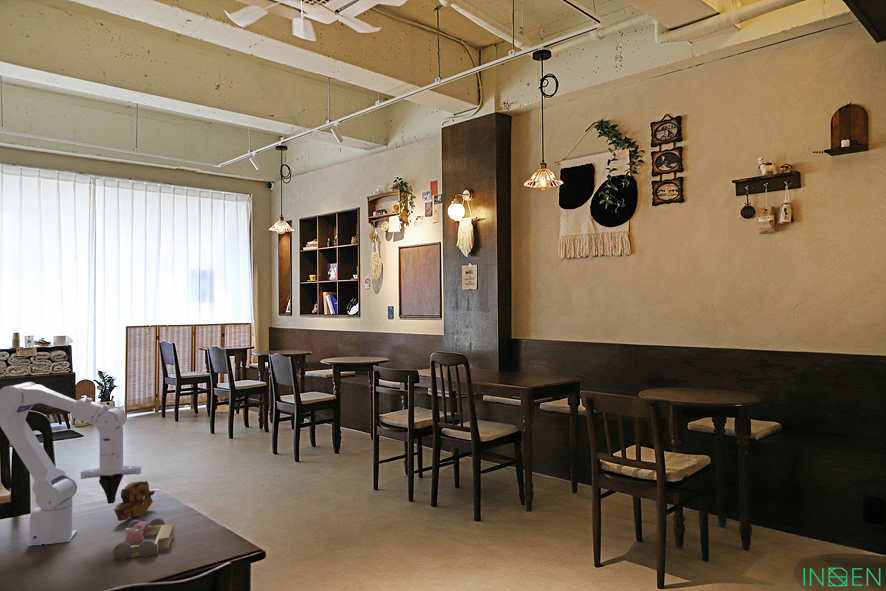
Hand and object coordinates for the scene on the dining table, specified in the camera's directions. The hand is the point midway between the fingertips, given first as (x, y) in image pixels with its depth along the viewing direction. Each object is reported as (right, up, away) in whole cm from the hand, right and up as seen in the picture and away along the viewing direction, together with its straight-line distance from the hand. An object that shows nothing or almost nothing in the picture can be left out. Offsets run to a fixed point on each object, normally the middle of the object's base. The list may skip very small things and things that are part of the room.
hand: (111, 502), depth 166 cm
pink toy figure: (+9, -10, -6) cm, 15 cm away
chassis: (+12, -9, -6) cm, 16 cm away
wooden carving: (-1, -10, +16) cm, 19 cm away
